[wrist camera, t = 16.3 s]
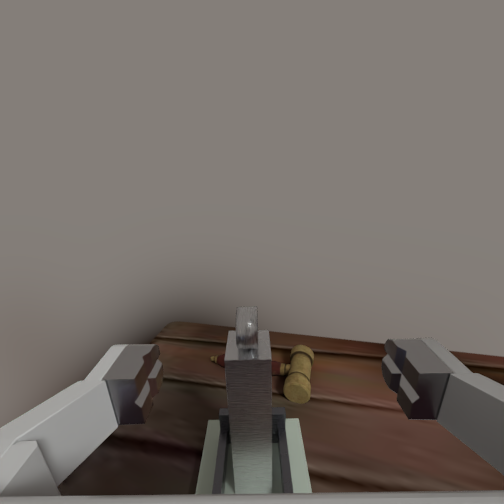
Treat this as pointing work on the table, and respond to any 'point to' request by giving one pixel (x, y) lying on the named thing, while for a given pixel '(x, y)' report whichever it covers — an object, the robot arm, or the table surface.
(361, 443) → the table surface
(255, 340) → the steel link
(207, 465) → the keeper bracket
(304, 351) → the gavel
